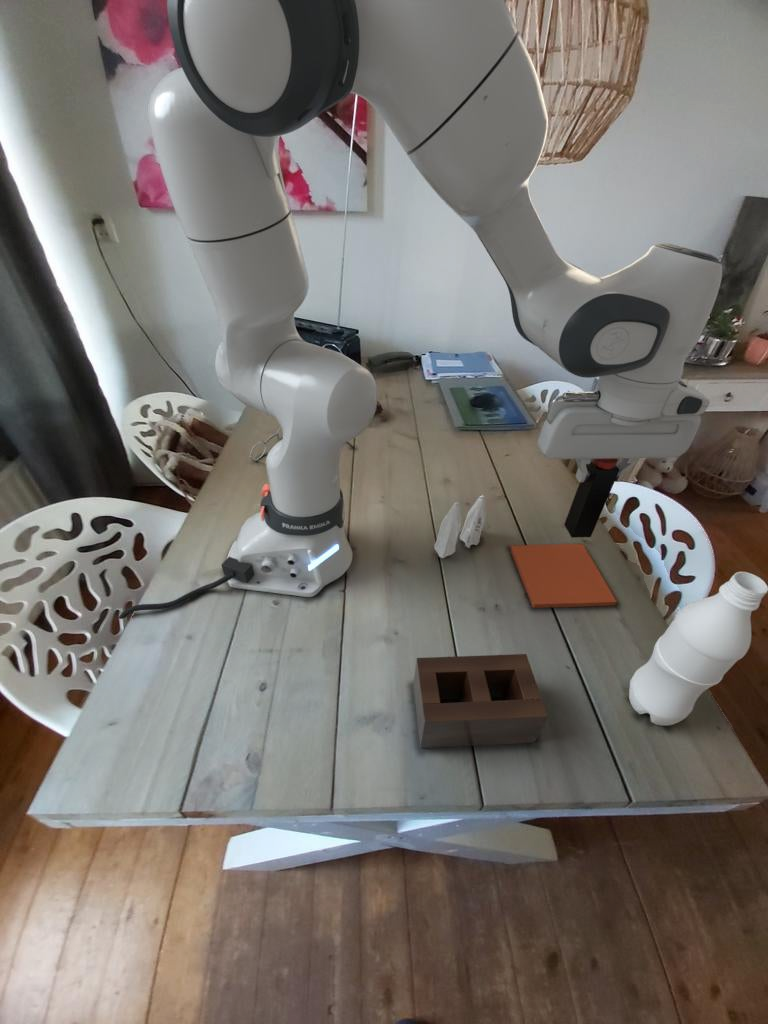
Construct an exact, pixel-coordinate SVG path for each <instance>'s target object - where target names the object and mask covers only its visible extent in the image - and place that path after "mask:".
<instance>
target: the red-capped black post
mask: <svg viewBox="0 0 768 1024" xmlns="http://www.w3.org/2000/svg"><path fill="white" fill-rule="evenodd" d="M617 463H618V459H592V460H591V462H590V464H586V467H589V469H590V470H591V471H592V473H593V475H592V477H591V478H590V479H591V480H590V482H578V486H577V489H576V491H575V494H574V496H573V499H572V502H571V505H570V507H569V510H568V512H567V516H566V518H565V522H564V524H563V525H564V527H565V529H566V531H567V533H568V534H569V536H570V537H571V538H572V539H573V538H591V537H592V535H593V533H594V531H595V529H596V526H597V524H598V521H599V520H600V517H601V514H602V513H603V510H604V507H605V505H606V503H607V501H608V498H609V496H610V493H611V491H612V489H613V486H614V484H615V483H616V482H615V480H616V477H617V475H618V473H619V468H618V467H617V466H616V464H617Z"/></svg>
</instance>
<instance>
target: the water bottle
mask: <svg viewBox="0 0 768 1024" xmlns="http://www.w3.org/2000/svg"><path fill="white" fill-rule="evenodd" d="M767 593H768V584H767V583H766V582H765V581H764V580H763V579H762V578H761V577H760V576H758V575H755V574H753V573H750V572H747V571H737V572H735V573H734V574H733V575H732V576H731V577H730V579H729V580H728V581H725V583H723V584H721V585H720V586H719V589H718V592H717V593H716V594H713V595H711V596H707V597H704V598H701V599H697V600H693V601H692V602H690V603H688V604H686V605H684V606H683V607H681V608H680V609H679V610H678V611H677V612H676V614H675V616H674V618H673V620H672V621H671V623H670V624H669V626H668V627H667V629H666V630H665V631H664V632H663V634H662V635H661V636H660V637H659V638H658V639H657V640H656V642H655V644H654V647H653V649H652V650H653V651H652V654H651V656H650V658H649V660H648V661H646V663H645V664H643V665H642V666H640V667H638V668H637V669H636V671H635V672H634V673H633V675H632V676H631V678H630V680H629V690H628V698H629V703H630V705H631V707H632V709H633V710H634V711H635V712H636V713H637V714H639V715H644V714H648V715H649V718H650V723H652V724H655V725H657V726H672V725H675V724H678V723H680V722H681V721H683V720H685V719H686V718H687V717H688V716H689V715H690V714H691V713H692V712H693V710H694V707H695V704H696V702H697V701H698V699H699V697H701V695H702V694H703V693H704V692H705V691H707V690H708V689H710V688H711V687H714V686H716V685H718V684H719V683H720V682H721V681H722V680H723V678H724V676H725V674H727V672H728V671H729V670H730V669H731V668H733V666H734V665H735V664H736V663H737V662H738V661H740V660H741V659H743V658H744V657H745V656H746V654H747V653H748V651H749V649H750V647H751V642H752V624H751V622H752V620H751V615H752V612H753V611H757V610H758V608H759V607H760V604H761V603H762V599H763V597H765V595H766V594H767Z"/></svg>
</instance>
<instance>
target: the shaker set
mask: <svg viewBox="0 0 768 1024" xmlns="http://www.w3.org/2000/svg"><path fill="white" fill-rule="evenodd" d="M460 507H461V506H460V503H459V502H454V503H453V505H452V506H451V508H450V509H449V510H448V511H447V513H446V514H445V516H444V517H443V519H442V521H441V523H440V526H439V529H438V533H437V537H436V541H435V543H434V547H433V548H434V551H435V552H436V554H437V555H438V557H439V558H441V559H445V558H446V557H448V556H451V555H454V553H455V552H456V545H457V542H458V538H459V540H460V541H462V543H464V546H465V547H467V548H468V549H469V548H471V546H473V545H475V546H477V545H478V544H479V543H480V539H481V535H482V531H483V528H484V525H485V521H486V518H487V517H486V516H487V515H486V512H487V511H486V496H485V495H480V496H479V497H478V498H477V499H476V501H475V502H474V503H473V505H472V506H471V508H470V509H469V510H468V512H467V513H466V517H465V520H464V524H463V526H462V517H461V508H460ZM461 527H462V530H461ZM460 530H461V533H460ZM459 534H460V535H459Z"/></svg>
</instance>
